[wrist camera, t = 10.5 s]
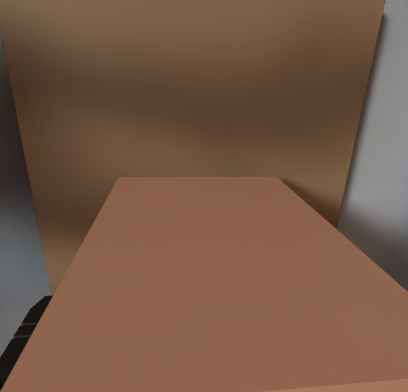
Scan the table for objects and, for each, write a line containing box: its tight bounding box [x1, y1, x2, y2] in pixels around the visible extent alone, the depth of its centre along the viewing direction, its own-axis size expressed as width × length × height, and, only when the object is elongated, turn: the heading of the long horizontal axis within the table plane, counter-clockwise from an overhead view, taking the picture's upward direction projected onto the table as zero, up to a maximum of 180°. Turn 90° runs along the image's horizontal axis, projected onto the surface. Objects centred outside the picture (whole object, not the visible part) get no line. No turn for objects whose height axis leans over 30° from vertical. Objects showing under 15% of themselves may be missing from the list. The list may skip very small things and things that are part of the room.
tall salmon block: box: [0, 177, 408, 392], centre depth 9 cm, size 6×6×9 cm
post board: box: [0, 0, 385, 296], centre depth 11 cm, size 20×14×8 cm
